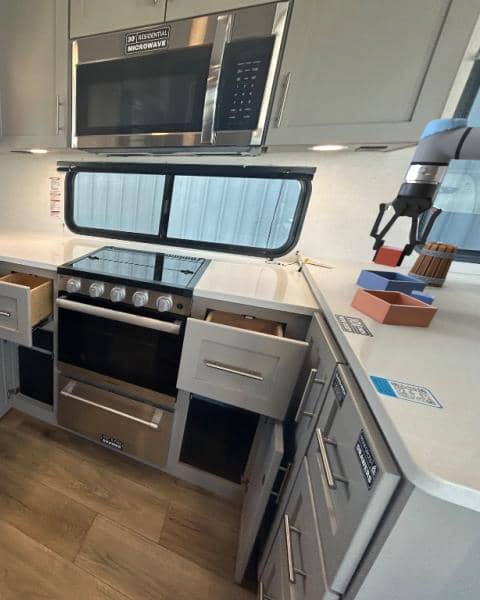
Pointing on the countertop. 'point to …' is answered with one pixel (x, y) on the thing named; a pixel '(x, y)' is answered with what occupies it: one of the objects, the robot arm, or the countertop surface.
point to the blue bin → (389, 282)
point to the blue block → (423, 297)
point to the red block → (388, 256)
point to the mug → (433, 263)
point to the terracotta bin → (393, 308)
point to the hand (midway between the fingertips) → (386, 263)
